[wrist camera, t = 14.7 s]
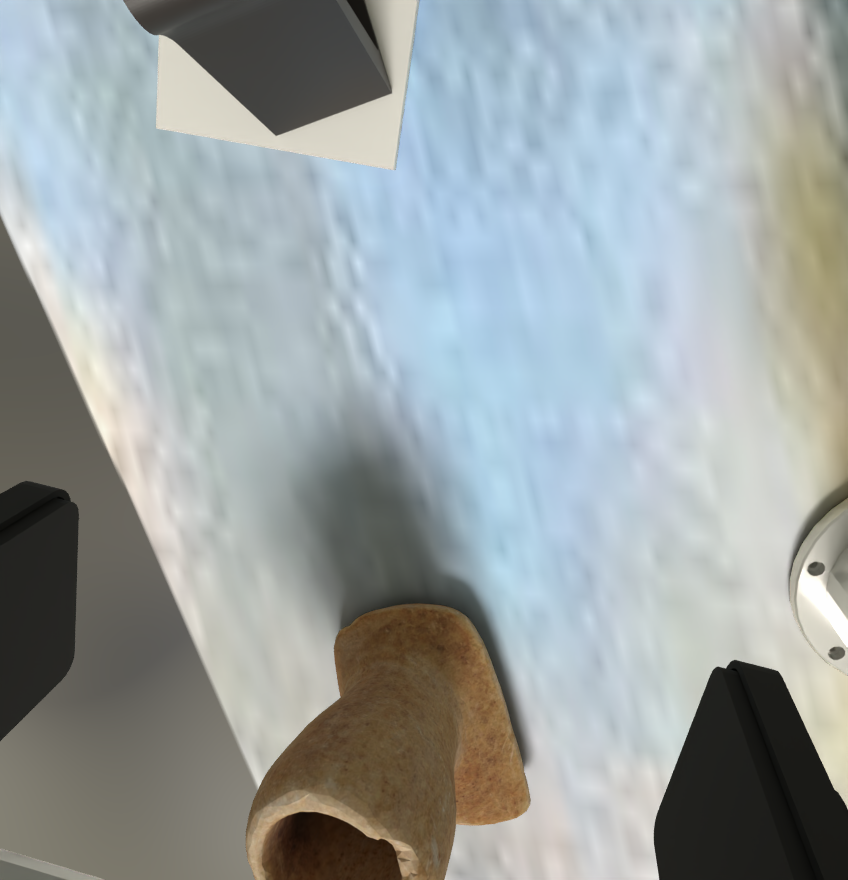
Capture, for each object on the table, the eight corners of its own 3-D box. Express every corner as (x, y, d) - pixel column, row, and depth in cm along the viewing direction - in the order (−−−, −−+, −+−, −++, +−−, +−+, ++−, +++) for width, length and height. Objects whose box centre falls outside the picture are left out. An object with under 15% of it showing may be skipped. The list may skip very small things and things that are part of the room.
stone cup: (292, 611, 46) (192, 802, 32) (480, 580, 44) (459, 772, 30) (360, 801, 51) (298, 1041, 37) (533, 783, 49) (537, 1031, 35)
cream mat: (436, -120, 33) (434, -125, 32) (395, 170, 37) (393, 170, 36) (171, -160, 33) (165, -166, 33) (161, 128, 38) (156, 128, 37)
